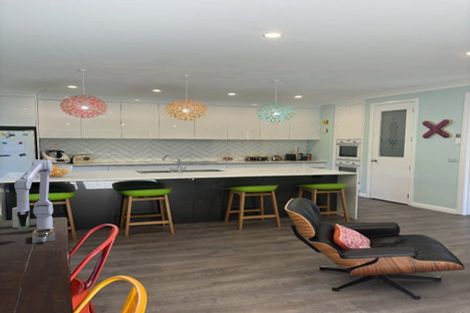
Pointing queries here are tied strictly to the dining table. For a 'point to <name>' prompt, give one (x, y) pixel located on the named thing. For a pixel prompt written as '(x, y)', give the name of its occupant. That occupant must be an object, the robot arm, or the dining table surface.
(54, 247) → the dining table surface
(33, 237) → the gearbox
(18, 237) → the dining table surface
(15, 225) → the supplement box
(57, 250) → the dining table surface
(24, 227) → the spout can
